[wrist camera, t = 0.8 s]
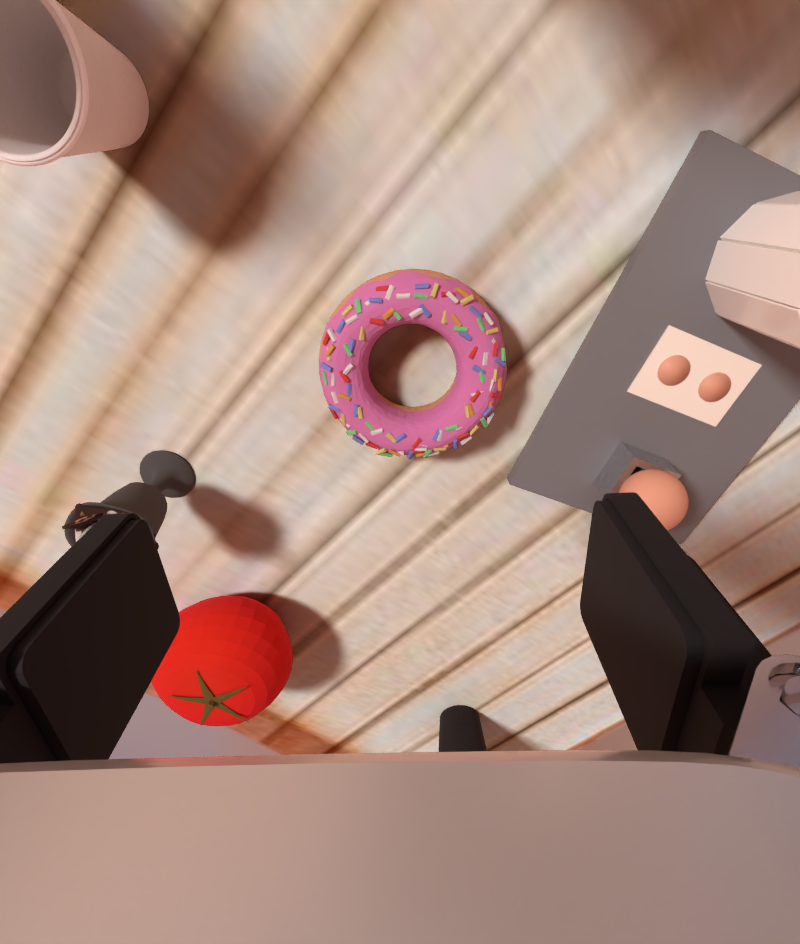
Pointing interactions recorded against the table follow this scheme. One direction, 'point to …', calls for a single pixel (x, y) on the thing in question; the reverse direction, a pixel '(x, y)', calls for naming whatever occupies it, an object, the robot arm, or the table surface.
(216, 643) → the tomato
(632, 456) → the grey hollow block
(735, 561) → the table surface
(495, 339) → the donut
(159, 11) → the table surface
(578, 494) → the board
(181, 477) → the sundae
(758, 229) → the tube
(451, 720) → the drinking cup
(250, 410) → the table surface
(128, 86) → the dixie cup
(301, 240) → the table surface
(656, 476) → the ball
